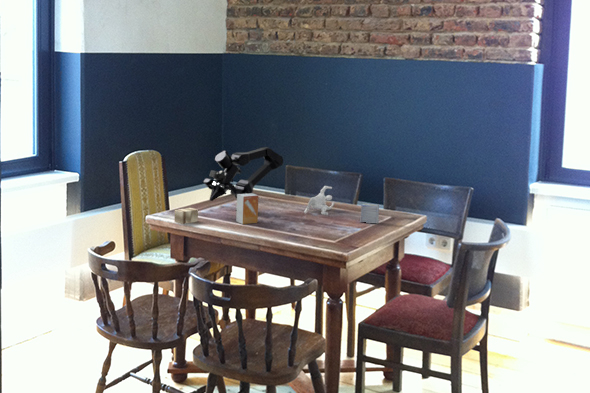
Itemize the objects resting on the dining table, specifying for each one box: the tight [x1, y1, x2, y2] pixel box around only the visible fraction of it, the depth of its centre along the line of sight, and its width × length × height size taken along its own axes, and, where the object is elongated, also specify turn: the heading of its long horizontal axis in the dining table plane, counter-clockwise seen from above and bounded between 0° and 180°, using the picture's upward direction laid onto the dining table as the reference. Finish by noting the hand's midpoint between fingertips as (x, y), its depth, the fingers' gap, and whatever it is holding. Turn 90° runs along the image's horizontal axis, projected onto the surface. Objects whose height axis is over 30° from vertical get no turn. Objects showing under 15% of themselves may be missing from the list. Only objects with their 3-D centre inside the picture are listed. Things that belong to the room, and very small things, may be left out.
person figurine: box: [303, 185, 336, 216], centre depth 334 cm, size 13×13×18 cm
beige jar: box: [174, 207, 199, 225], centre depth 300 cm, size 6×6×9 cm
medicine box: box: [359, 203, 380, 224], centre depth 312 cm, size 8×4×9 cm, turn 71°
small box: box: [235, 192, 259, 225], centre depth 303 cm, size 8×6×13 cm
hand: (210, 200), depth 309 cm, fingers closed
